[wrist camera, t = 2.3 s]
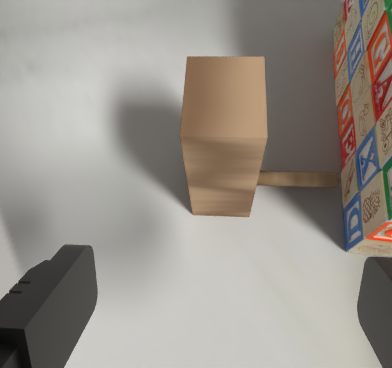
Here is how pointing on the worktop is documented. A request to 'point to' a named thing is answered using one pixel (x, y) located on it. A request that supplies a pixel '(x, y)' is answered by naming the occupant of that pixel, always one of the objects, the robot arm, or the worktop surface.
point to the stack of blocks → (365, 122)
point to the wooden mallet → (230, 136)
